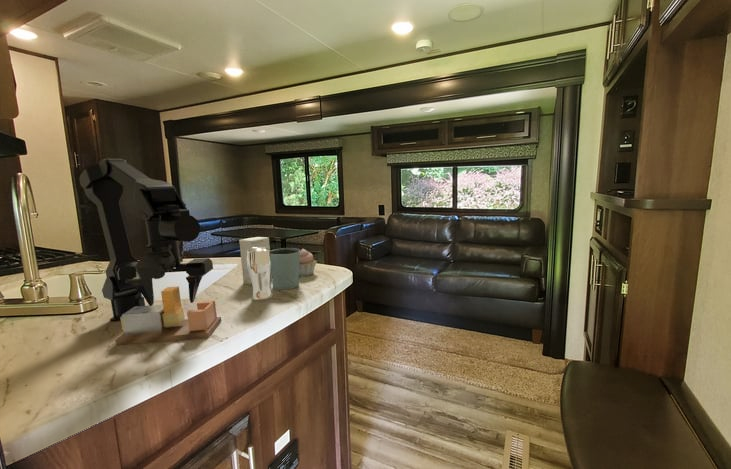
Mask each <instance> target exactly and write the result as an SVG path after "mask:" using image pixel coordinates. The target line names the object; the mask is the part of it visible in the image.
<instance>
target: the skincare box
mask: <svg viewBox="0 0 731 469" xmlns="http://www.w3.org/2000/svg"><path fill="white" fill-rule="evenodd" d="M270 246H271V245H270V238H269V236H268V237H265V236H255V237H248V238H242V239H239V249H240V263H241V269H242V270H241V271H242V283H243V284H245V285H249V286H252V282H251V279H250V275H249V271H248V266H247V250H248V249H251V248H256V247H268V248H270V249H271V247H270ZM272 280H273V279H272V275H271V281H272Z"/></svg>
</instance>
